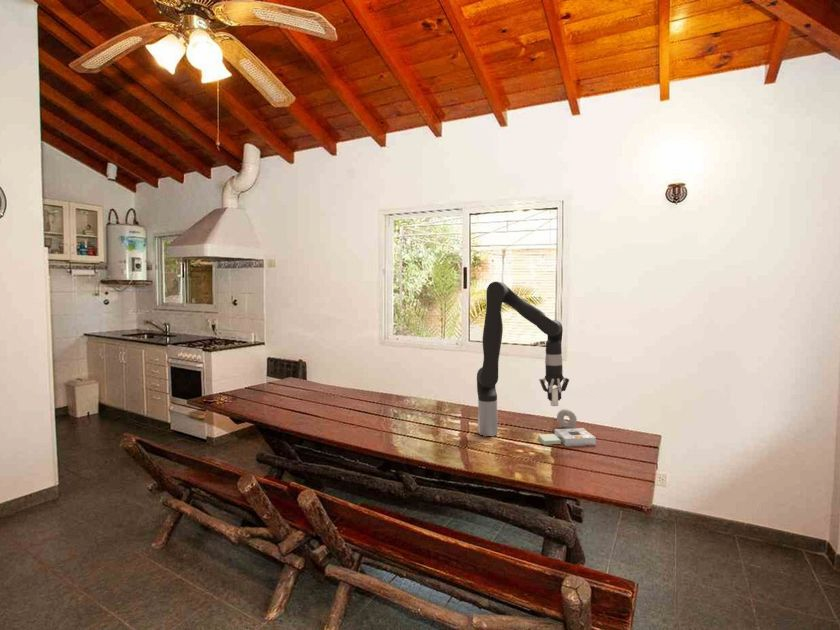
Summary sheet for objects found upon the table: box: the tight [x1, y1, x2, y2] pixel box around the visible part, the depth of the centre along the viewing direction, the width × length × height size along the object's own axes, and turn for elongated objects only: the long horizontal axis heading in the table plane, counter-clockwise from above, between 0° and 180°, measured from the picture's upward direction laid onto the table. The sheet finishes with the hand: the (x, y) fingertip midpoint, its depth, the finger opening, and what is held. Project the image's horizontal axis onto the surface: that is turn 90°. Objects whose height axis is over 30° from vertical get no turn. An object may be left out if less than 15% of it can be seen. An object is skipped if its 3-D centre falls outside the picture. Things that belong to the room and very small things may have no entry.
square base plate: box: [537, 433, 562, 446], centre depth 211 cm, size 8×9×2 cm
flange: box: [554, 427, 597, 447], centre depth 212 cm, size 14×14×4 cm
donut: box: [556, 408, 578, 429], centre depth 230 cm, size 10×4×10 cm, turn 51°
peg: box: [550, 387, 559, 407], centre depth 210 cm, size 3×3×8 cm
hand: (554, 400), depth 210 cm, fingers closed on peg, 3 cm apart
